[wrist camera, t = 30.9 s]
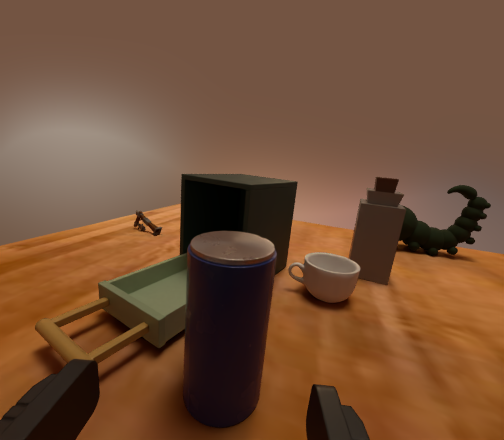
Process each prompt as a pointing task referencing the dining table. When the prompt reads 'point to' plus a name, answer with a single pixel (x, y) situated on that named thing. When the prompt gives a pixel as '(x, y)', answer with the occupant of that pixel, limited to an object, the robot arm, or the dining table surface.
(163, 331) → the drawer
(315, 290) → the teacup
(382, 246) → the perfume bottle
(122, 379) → the dining table surface
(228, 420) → the navy can
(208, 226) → the cubby
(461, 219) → the toy figurine
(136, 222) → the dark brown angled piece
